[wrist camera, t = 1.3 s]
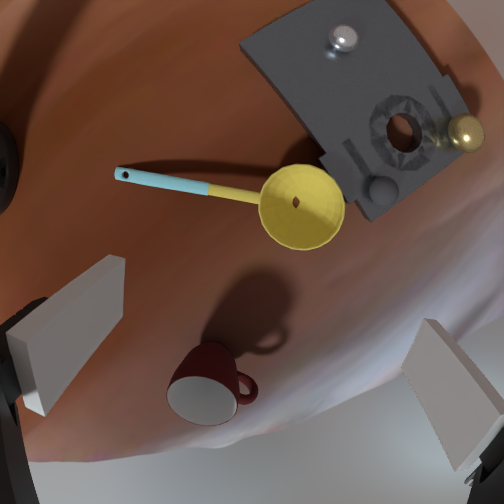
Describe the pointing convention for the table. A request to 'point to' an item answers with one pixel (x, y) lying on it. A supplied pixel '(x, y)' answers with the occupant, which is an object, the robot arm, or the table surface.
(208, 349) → the mug
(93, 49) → the table surface
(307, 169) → the ladle
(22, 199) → the table surface
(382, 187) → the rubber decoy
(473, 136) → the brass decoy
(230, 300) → the table surface
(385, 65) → the grey flat slab
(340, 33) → the steel ball
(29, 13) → the table surface
